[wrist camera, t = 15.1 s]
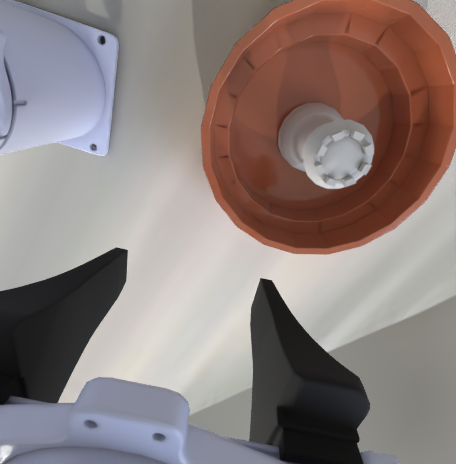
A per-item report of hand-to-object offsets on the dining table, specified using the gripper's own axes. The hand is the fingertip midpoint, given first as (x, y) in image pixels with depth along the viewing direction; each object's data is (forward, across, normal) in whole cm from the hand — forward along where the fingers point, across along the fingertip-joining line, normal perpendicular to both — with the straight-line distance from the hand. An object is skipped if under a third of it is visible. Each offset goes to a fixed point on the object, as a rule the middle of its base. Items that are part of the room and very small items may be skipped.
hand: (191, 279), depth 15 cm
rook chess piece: (+9, -6, -8) cm, 13 cm away
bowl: (+9, -6, -8) cm, 13 cm away
